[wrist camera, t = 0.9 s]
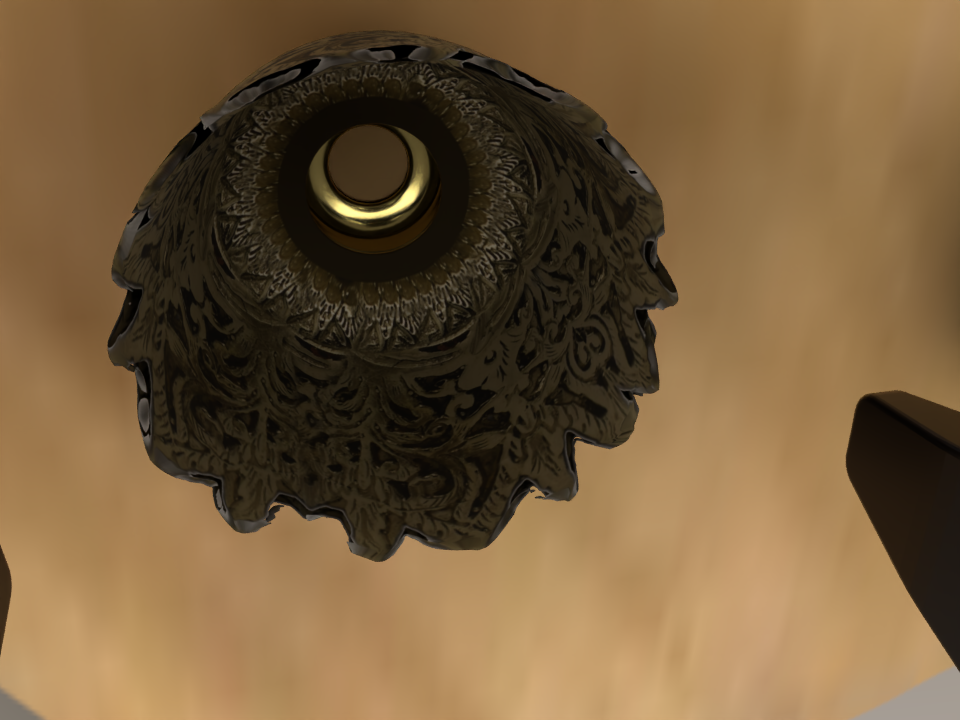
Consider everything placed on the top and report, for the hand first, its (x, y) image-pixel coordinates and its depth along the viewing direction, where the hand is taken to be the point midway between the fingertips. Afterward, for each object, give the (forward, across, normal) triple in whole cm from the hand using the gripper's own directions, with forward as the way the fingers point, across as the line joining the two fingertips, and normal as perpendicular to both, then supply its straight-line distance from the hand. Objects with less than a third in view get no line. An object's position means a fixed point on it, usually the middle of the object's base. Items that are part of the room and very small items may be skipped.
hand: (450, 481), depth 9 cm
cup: (+11, 0, 0) cm, 11 cm away
